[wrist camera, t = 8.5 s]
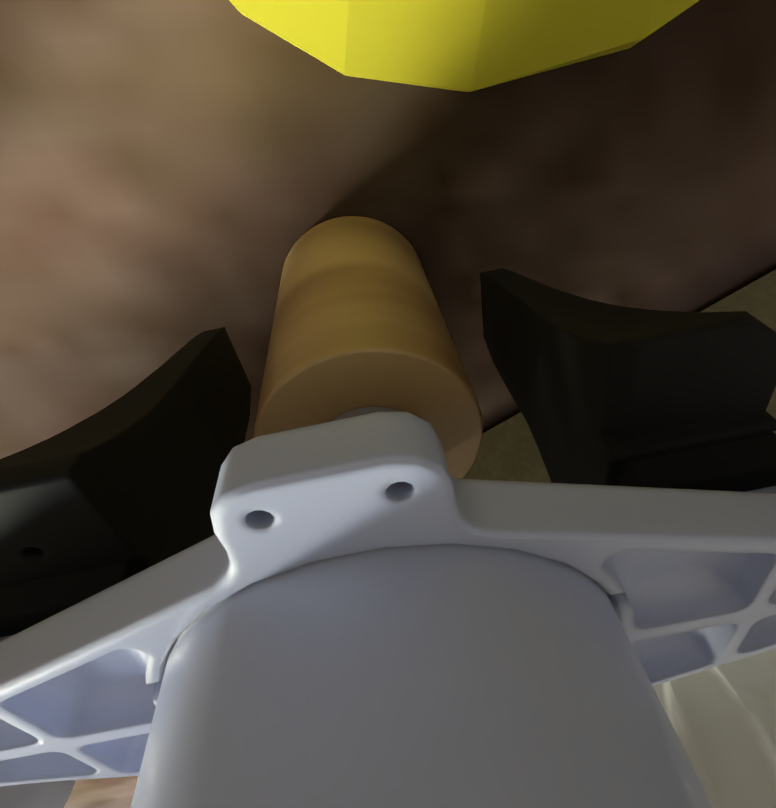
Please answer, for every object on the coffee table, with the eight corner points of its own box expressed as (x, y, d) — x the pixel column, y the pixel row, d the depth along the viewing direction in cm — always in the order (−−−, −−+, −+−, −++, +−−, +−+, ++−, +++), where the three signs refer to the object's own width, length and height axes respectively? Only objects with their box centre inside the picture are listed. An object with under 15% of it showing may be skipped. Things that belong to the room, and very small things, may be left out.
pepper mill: (431, 334, 17) (501, 535, 10) (304, 360, 17) (291, 576, 10) (412, 200, 14) (493, 356, 7) (260, 233, 14) (201, 416, 7)
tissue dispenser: (801, 249, 16) (2297, 938, 4) (822, 418, 22) (1484, 935, 9) (362, 497, 22) (411, 1114, 9) (465, 582, 27) (583, 1047, 15)
